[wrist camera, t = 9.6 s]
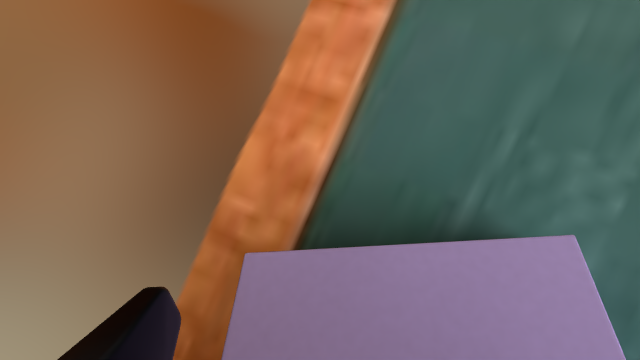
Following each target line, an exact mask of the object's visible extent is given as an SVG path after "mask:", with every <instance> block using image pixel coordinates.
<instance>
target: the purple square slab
mask: <svg viewBox="0 0 640 360" xmlns="http://www.w3.org/2000/svg"><path fill="white" fill-rule="evenodd" d="M221 360H626V359H625V356H624V354H623V351H622V349H621V347H620V344H619V342H618V339H617V337H616V334H615V332H614V330H613V327H612V325H611V322H610V320H609V317H608V315H607V313H606V310H605V308H604V305H603V303H602V300H601V298H600V296H599V293H598V291H597V288H596V286H595V283H594V281H593V279H592V276H591V274H590V271H589V269H588V267H587V264H586V262H585V259H584V257H583V254H582V252H581V250H580V247H579V245H578V242H577V240H576V237H575V236H574V235H563V236H545V237H527V238H509V239H491V240H473V241H455V242H437V243H419V244H401V245H383V246H364V247H346V248H328V249H310V250H292V251H274V252H256V253H245V256H244V261H243V265H242V270H241V274H240V278H239V283H238V287H237V292H236V296H235V301H234V305H233V310H232V314H231V318H230V323H229V327H228V332H227V336H226V341H225V345H224V350H223V354H222V359H221Z"/></svg>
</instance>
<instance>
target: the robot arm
mask: <svg viewBox="0 0 640 360" xmlns="http://www.w3.org/2000/svg"><path fill="white" fill-rule="evenodd" d="M180 325H181V316H180V312H179V310H178V308H177V306H176V304H175V302H174V300H173V298H172V297H171V295H170V293H169V291H168V290H167V289H166V288H165V287H148V288H145V289H143V290H141V291H140V292H139V293H138V294H136V295H135V296H134V297H133V298H132V299H130V300H129V301H128V302H127V303H126V304H124V305H123V306H122V307H121V308H119V309H118V310H117V311H116V312H115V313H114V314H112V315H111V316H110V317H109V318H107V319H106V320H105V321H104V322H103V323H101V324H100V325H99V326H98V327H97V328H95V329H94V330H93V331H92V332H90V333H89V334H88V335H87V336H86V337H84V338H83V339H82V340H81V341H79V342H78V343H77V344H76V345H75V346H73V347H72V348H71V349H70V350H69V351H67V352H66V353H65V354H64V355H62V356H61V357H60V358H59V359H58V360H173V356H174V351H175V347H176V343H177V338H178V334H179V330H180Z"/></svg>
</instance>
